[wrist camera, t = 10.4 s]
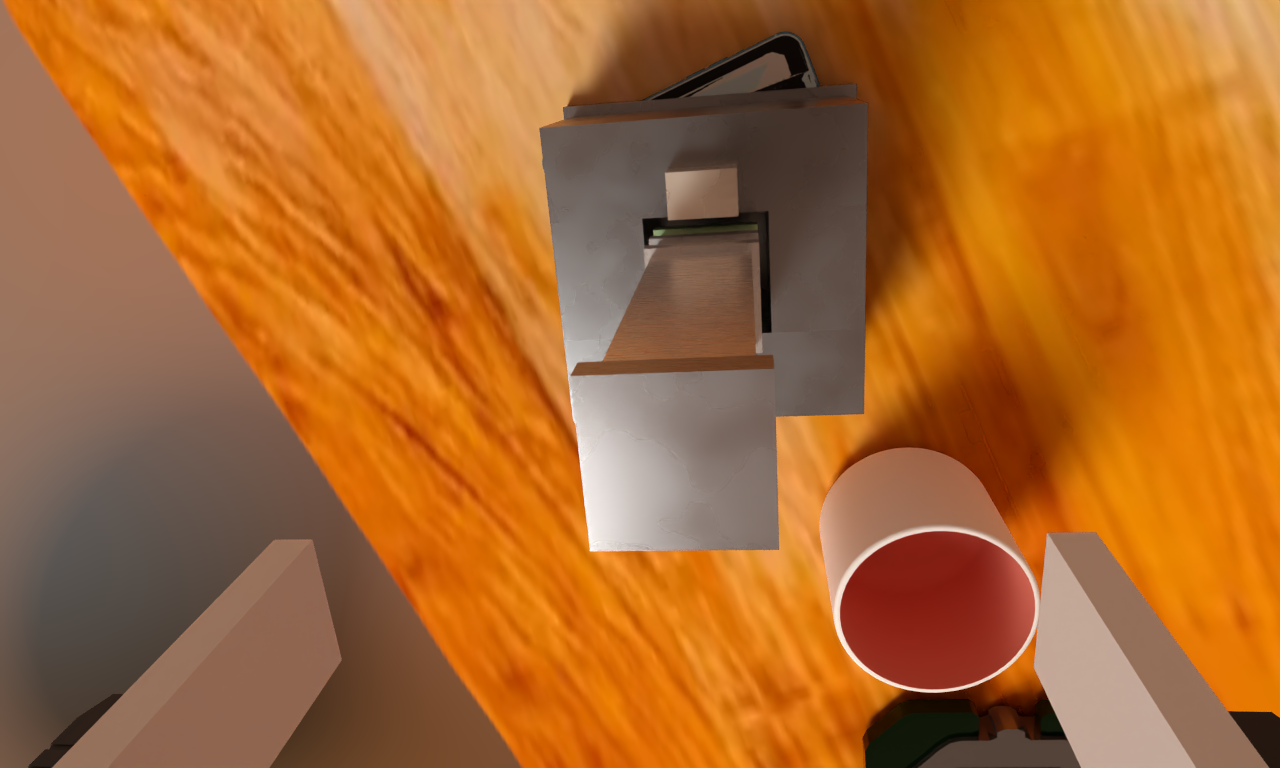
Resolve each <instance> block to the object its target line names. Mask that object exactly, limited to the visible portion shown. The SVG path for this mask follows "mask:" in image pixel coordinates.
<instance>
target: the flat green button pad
mask: <svg viewBox="0 0 1280 768" xmlns="http://www.w3.org/2000/svg"><path fill="white" fill-rule="evenodd" d="M863 763H864V768H1081V766H1080V764H1079V762H1078V760H1077V758H1076V756H1075V754H1074V752H1073V749H1072V747H1071V745H1070V743H1069V741H1068V739H1067V737H1066V735H1065V732H1064V730H1063V728H1062V726H1061V724H1060V722H1059V720H1058V718H1057V716H1056V713H1055V711H1054V709H1053V707H1052V705H1051V703H1050V701H1049V700H1041V701H1039V702H1038V703H1037V704H1036V705H1035V716H1019V715H1018V714H1017V712H1016V709H1015V708H1013V707H1010V706H994V707H992V708H990V709H989V713H988V715H985V716H983V717H979V715H978V712H977V709H976V706H975V704H974V703H973V702H972V701H970V700H969V699H941V700H909V701H906V702H903V703H900V704H898V705H897V706H896V707H895V708H893V709H892V710H891V711H890V712H889V713H887V714H886V715H885V716H884V717H882V718H881V719H880V720H879V721H877V722H876V723H875V724H874V725H872V726H871V727H870V728H869V729H867V730H866V732H865V734H864V736H863Z"/></svg>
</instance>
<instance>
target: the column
mask: <svg viewBox="0 0 1280 768" xmlns="http://www.w3.org/2000/svg"><path fill="white" fill-rule="evenodd" d="M653 233H654V236H650V238H649V245H645V247H644V261H645V271H644V273H643V275H642V277H641V280H640V282H639V284H638V286H637V288H636V290H635V292H634V295H633V297H632V299H631V301H630V303H629V305H628V307H627V310H626V312H625V314H624V316H623V318H622V320H621V322H620V325H619V327H618V329H617V331H616V333H615V335H614V337H613V340H612V342H611V344H610V346H609V348H608V350H607V352H606V355H605V357H604V359H603V361H596V362H578V363H577V364H576V366H575V368H574V370H573V372H572V374H571V375H570V379H571V388H572V397H573V406H574V414H575V423H576V432H577V441H578V449H579V458H580V467H581V475H582V484H583V493H584V502H585V510H586V519H587V528H588V537H589V545H590V551H670V550H779V527H778V488H777V449H776V411H775V372H774V360H773V355H756V353H762V321H761V289H760V256H759V239H758V224H757V222H740V223H723V224H706V225H689V226H673V227H656V228H654V230H653Z"/></svg>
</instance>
